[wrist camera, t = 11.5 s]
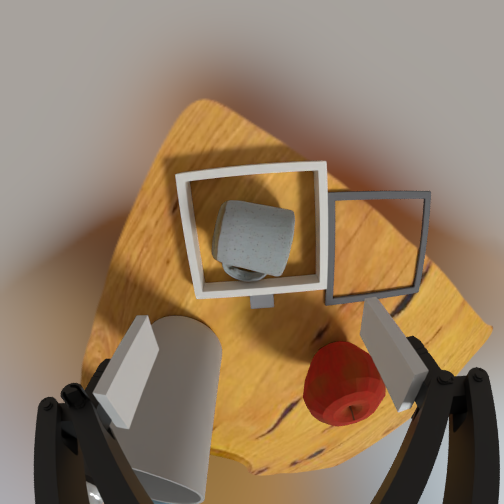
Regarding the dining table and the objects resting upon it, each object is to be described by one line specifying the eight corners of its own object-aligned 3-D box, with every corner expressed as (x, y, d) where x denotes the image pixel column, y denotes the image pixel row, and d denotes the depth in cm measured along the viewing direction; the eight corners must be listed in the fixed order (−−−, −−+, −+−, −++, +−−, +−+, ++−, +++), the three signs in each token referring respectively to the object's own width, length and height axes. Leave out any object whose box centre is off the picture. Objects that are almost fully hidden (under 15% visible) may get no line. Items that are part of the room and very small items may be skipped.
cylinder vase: (228, 370, 43) (215, 508, 20) (159, 370, 43) (120, 492, 20) (215, 311, 38) (183, 475, 15) (137, 314, 39) (66, 447, 16)
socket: (202, 302, 38) (199, 311, 36) (180, 172, 31) (175, 174, 29) (322, 292, 37) (326, 301, 35) (320, 160, 31) (326, 161, 28)
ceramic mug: (224, 192, 32) (215, 206, 25) (290, 204, 33) (301, 221, 26) (213, 270, 36) (203, 301, 29) (273, 280, 37) (277, 313, 30)
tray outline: (325, 304, 38) (325, 305, 38) (326, 192, 32) (327, 192, 32) (417, 291, 37) (418, 292, 37) (429, 191, 32) (430, 191, 31)
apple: (380, 338, 41) (412, 398, 28) (337, 383, 45) (354, 444, 31) (326, 312, 39) (353, 382, 25) (282, 364, 42) (290, 434, 29)
